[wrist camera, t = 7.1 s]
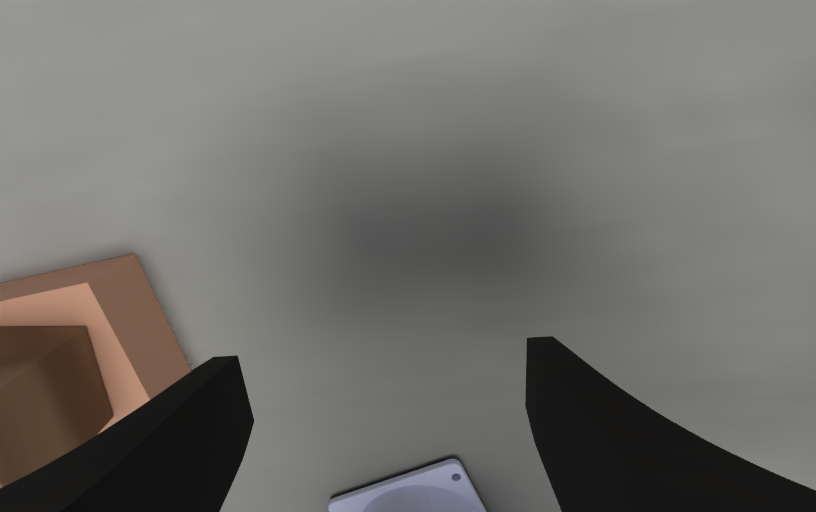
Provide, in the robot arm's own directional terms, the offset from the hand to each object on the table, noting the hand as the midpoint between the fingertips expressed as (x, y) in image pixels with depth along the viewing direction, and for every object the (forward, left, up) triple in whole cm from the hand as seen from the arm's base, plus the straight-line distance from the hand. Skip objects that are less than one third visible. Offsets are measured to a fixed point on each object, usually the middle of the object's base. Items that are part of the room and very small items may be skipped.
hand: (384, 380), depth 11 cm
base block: (+2, +15, -10) cm, 18 cm away
